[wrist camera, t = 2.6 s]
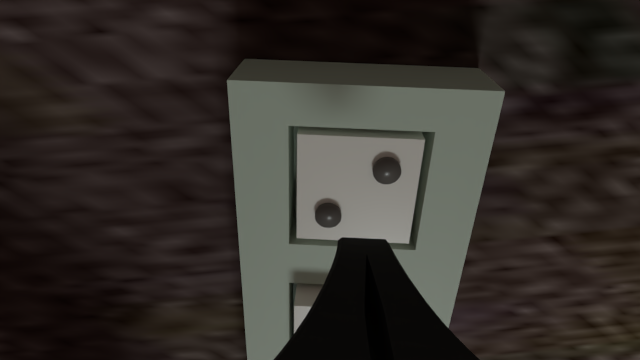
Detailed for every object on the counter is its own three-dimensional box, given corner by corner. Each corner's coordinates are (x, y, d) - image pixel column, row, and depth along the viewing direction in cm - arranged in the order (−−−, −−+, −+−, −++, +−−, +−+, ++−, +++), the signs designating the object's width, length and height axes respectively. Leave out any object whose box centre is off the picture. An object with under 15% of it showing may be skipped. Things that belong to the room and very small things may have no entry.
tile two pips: (300, 210, 19) (296, 241, 17) (301, 114, 17) (296, 136, 15) (402, 215, 19) (409, 246, 17) (416, 119, 17) (426, 142, 15)
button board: (263, 412, 27) (254, 463, 25) (244, 58, 17) (226, 79, 14) (406, 420, 27) (413, 472, 24) (479, 68, 17) (505, 91, 14)
